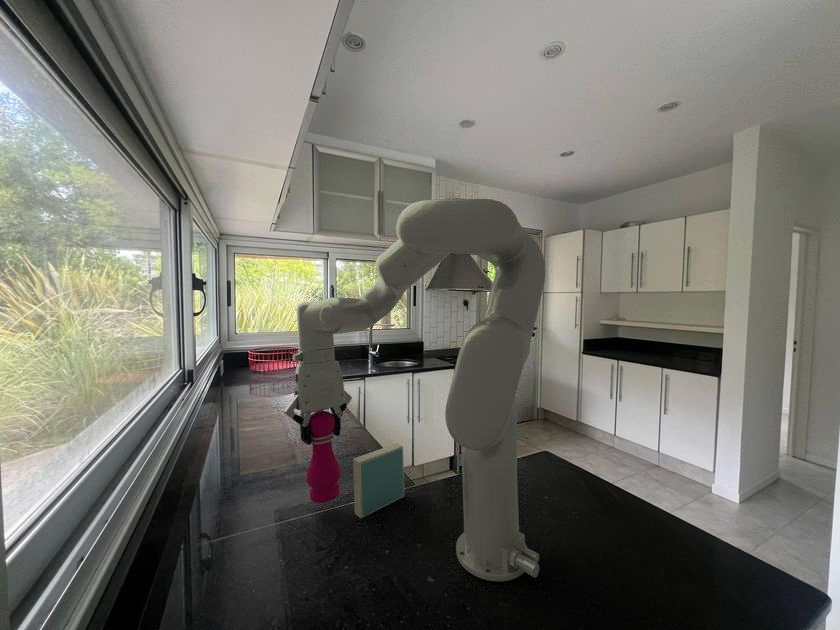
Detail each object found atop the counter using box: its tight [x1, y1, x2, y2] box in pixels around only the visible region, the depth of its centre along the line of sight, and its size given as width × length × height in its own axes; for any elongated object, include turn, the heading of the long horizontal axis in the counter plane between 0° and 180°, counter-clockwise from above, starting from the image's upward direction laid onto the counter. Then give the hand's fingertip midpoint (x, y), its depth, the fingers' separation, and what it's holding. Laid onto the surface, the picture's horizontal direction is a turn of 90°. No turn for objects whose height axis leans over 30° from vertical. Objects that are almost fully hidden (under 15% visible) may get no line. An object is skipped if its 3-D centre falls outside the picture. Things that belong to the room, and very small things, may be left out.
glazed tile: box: [352, 443, 405, 519], centre depth 75 cm, size 3×12×12 cm, turn 132°
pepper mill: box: [306, 410, 342, 504], centre depth 73 cm, size 7×7×20 cm
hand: (321, 437), depth 73 cm, fingers closed on pepper mill, 6 cm apart
